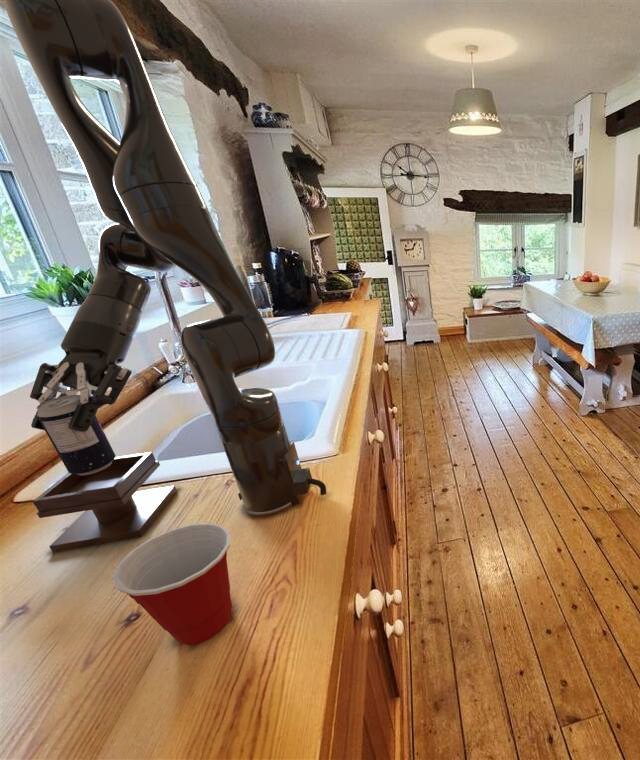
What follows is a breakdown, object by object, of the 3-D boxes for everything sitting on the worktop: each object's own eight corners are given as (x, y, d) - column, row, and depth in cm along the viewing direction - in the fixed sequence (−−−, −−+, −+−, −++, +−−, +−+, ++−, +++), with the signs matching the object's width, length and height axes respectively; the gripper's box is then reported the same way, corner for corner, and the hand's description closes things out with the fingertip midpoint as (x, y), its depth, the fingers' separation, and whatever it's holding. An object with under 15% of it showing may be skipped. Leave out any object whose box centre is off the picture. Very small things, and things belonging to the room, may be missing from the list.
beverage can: (127, 458, 69) (95, 393, 64) (92, 479, 63) (55, 410, 59) (96, 456, 69) (63, 393, 64) (60, 477, 64) (21, 410, 59)
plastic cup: (265, 624, 51) (237, 553, 46) (157, 688, 45) (111, 612, 40) (246, 572, 59) (220, 506, 54) (151, 620, 52) (112, 550, 48)
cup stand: (177, 490, 77) (158, 448, 73) (141, 536, 66) (117, 490, 62) (102, 502, 74) (79, 460, 71) (52, 552, 64) (22, 505, 60)
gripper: (39, 318, 65) (-15, 422, 59) (120, 318, 63) (74, 424, 57) (89, 340, 72) (45, 434, 66) (163, 340, 70) (125, 437, 64)
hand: (59, 429), depth 61 cm, fingers closed on beverage can, 5 cm apart
